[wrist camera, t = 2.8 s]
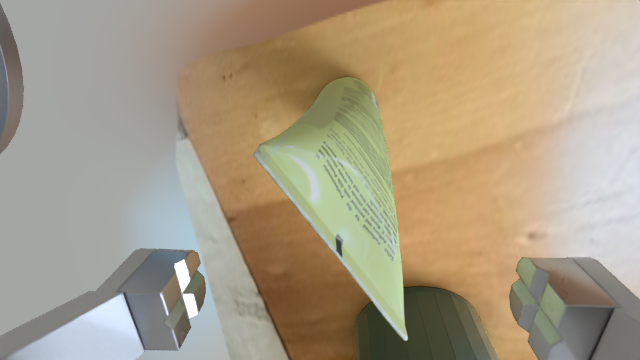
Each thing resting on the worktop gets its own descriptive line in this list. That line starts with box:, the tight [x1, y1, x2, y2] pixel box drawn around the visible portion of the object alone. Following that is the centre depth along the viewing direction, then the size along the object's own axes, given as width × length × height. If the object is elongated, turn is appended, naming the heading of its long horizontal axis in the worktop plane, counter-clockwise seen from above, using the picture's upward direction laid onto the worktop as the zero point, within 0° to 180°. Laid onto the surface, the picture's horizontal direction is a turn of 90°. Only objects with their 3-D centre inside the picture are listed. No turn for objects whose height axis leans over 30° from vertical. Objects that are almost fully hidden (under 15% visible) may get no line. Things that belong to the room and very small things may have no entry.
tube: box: [253, 77, 408, 341], centre depth 18 cm, size 6×5×20 cm
